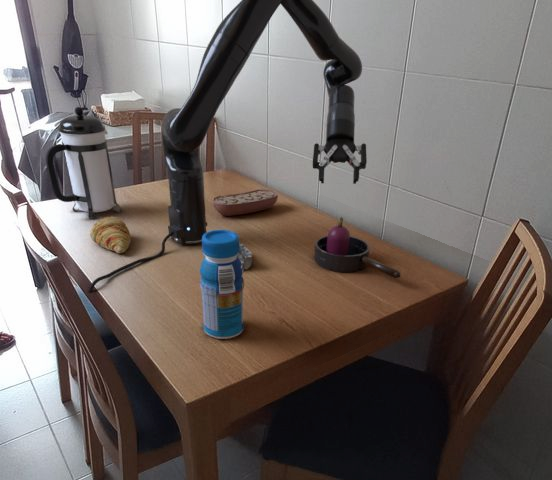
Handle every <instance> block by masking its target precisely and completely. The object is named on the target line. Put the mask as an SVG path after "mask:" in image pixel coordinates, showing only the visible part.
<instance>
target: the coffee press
mask: <svg viewBox="0 0 552 480" xmlns="http://www.w3.org/2000/svg"><path fill="white" fill-rule="evenodd" d="M74 113H75V114H76V115H71V116H66V117H64V118H63V119H61V120H60V122H59V126H58V128H57V129H58V132H59V134H60V137H61V144H55V145H52V146H51V147H49V149H48V150H47V152H46V155H45V164H46V165H45V166H46V171H47V174H48V179H49V183H50V187H51V190H52V193H53V195H54V197H55V198H56V199H58V200H59V201H61V202H64V203H72V202H74V205H73V207H72V211H73V212H74V213H75V212H78V211H79V210H80V211H82V212H86V213H88V214H87V215H88V216H87V217H88V219H89V220H95V215H96V213H101V212H106V211H109V210H114V211H115V212H116V213H120V212H121V211H122V206H120V204H119V203H118V202H117V198H116V197H117V196H116V191H115V185H114V179H113V172H112V166H111V161H110V153H109V149H108V141H107V138H106V135H108V134H109V133H108V130H107V129H106V126H105V125H104V124H103V121H102V120H101V119H99V118H98V117H96V116H92V115H83V114H84V110H83V108H82V107H81V106H77V107H75V109H74ZM62 151H63V153H64V157H65V161H66V167H67V171H68V175H69V181H70V187H71V190H72V194H71V195H63V194H62V192H61V190H60V186H59V182H58V178H57V173H56V169H55V164H54V158H55V155H57V153H60V152H62ZM115 206H116V207H117V208H118V209H117V208H116V207H115ZM75 207H76V208H77V209H76V208H75Z"/></svg>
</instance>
